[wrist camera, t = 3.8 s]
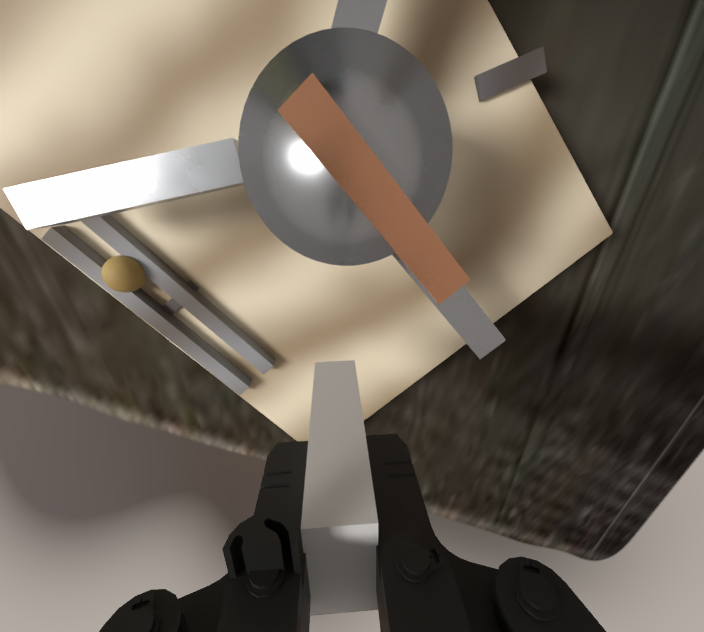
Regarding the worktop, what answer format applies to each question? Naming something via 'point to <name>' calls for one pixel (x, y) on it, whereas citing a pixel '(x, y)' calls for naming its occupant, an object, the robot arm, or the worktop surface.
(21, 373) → the worktop surface
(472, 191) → the stand
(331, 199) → the capstan
